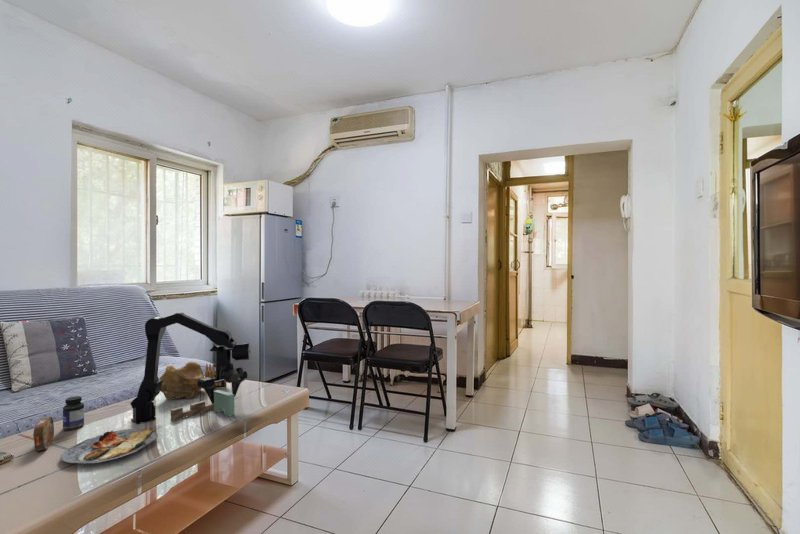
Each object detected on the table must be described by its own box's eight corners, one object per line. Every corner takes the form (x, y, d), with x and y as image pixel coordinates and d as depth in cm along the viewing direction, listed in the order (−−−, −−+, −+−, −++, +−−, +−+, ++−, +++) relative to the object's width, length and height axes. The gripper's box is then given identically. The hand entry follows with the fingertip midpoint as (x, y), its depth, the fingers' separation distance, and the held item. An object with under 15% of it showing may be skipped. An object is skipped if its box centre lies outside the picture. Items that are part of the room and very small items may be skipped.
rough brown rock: (184, 406, 170) (187, 372, 171) (150, 402, 173) (153, 368, 174) (217, 392, 193) (220, 362, 194) (187, 388, 196) (189, 358, 197)
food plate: (107, 433, 139) (107, 423, 139) (171, 434, 139) (171, 424, 139) (41, 470, 114) (40, 458, 114) (118, 471, 114) (118, 459, 114)
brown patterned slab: (44, 453, 125) (44, 426, 125) (31, 456, 123) (31, 429, 123) (55, 437, 138) (54, 413, 138) (43, 439, 136) (43, 415, 136)
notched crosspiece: (229, 416, 155) (229, 395, 155) (213, 410, 162) (213, 391, 162) (234, 414, 157) (234, 394, 157) (218, 409, 164) (218, 389, 164)
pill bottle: (61, 428, 146) (61, 398, 146) (82, 423, 150) (82, 394, 151) (64, 432, 142) (64, 401, 142) (85, 427, 146) (85, 397, 146)
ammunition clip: (204, 388, 196) (203, 363, 196) (206, 386, 198) (205, 363, 198) (224, 387, 195) (224, 363, 196) (226, 386, 197) (226, 362, 197)
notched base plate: (173, 420, 151) (173, 410, 151) (170, 419, 152) (170, 409, 152) (222, 406, 167) (222, 396, 167) (220, 405, 168) (219, 396, 168)
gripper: (211, 368, 147) (211, 410, 147) (255, 359, 163) (255, 397, 162) (196, 364, 154) (196, 404, 154) (239, 356, 169) (240, 392, 169)
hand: (223, 399), depth 159 cm, fingers open, 9 cm apart
